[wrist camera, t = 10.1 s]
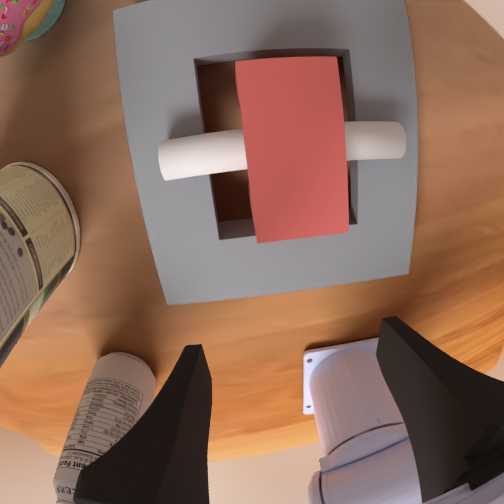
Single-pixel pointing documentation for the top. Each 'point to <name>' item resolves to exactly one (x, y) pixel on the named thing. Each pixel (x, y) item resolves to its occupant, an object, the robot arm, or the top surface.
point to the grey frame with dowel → (233, 148)
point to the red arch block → (294, 146)
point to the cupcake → (26, 21)
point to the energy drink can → (103, 415)
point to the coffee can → (32, 245)
